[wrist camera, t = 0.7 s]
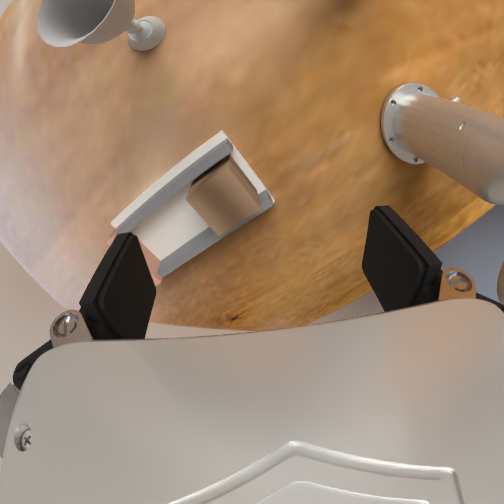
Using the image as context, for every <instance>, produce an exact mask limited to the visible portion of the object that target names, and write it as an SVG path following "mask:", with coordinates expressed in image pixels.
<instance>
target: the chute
mask: <svg viewBox="0 0 504 504" xmlns="http://www.w3.org/2000/svg"><path fill="white" fill-rule="evenodd" d="M229 154H230V155H231V157H232V158H233V159H234V160H235V162H236V163H237V164H238V166H239V167H240V168H241V170H242V171H243V172H244V173H245V175H246V176H247V177H248V179H249V180H250V181H251V183H252V184H253V185H254V187H255V188H256V189H257V193H258V197H259V202H260V206H261V210H259V211H258V212H256V213H255V214H253V215H251V216H250V217H248V218H247V219H245V220H244V221H242V222H241V223H239V224H238V225H236V226H234V227H233V228H231V229H230V230H228V231H227V232H225V233H224V234H222V235H221V236H218V235H217V234H216V233H215V232H214V231H213V230H212V229H211V227H210V226H209V225H208V224H207V223H206V222H205V221H204V220H203V219H202V217H201V216H200V215H199V214H198V213H197V212H196V211H195V210H194V208H193V207H192V206H191V205H190V204H189V203H188V202H187V201H186V198H187V195H188V192H189V189H190V187H191V184H192V181H193V180H195V179H196V178H197V177H199V176H200V175H202V174H203V173H204V172H206V171H207V170H208V169H210V168H211V167H212V166H214V165H215V164H217V163H218V162H219V161H221V160H222V159H224V158H225V157H227V156H228V155H229ZM274 202H275V200H274V198H273V197H272V195H271V194H270V193H269V191H268V190H267V189H266V187H265V186H264V184H263V183H262V182H261V180H260V179H259V178H258V176H257V175H256V174H255V172H254V171H253V170H252V168H251V167H250V165H249V164H248V163H247V161H246V160H245V159H244V158H243V156H242V155H241V154H240V152H239V151H238V150H237V148H236V147H235V146H234V144H233V143H232V142H231V141H230V139H229V138H228V137H227V135H226V134H225V133H224V132H223V130H221V131H220V132H218V133H217V134H216V135H214V136H213V137H211V138H210V139H209V140H207V141H206V142H205V143H203V144H202V145H201V146H199V147H198V148H197V149H195V150H194V151H193V152H191V153H190V154H189V155H188V156H186V157H185V158H184V159H182V160H181V161H180V162H179V163H177V164H176V165H175V166H174V167H172V168H171V169H170V170H169V171H168V172H166V173H165V174H164V175H163V176H162V177H160V178H159V179H158V180H157V181H156V182H154V183H153V184H152V185H151V186H150V187H149V188H147V189H146V190H145V191H144V192H143V193H142V194H141V195H140V196H138V197H137V198H136V199H135V200H134V201H133V202H132V203H131V204H130V205H129V206H127V207H126V208H125V209H124V210H123V211H122V212H121V213H120V214H119V215H118V216H117V217H116V218H115V219H114V220H113V221H112V222H111V225H112V226H113V227H114V228H115V230H114V232H113V233H112V235H111V236H110V238H109V240H108V241H107V244H108V245H109V246H110V245H111V244H112V242H113V240H114V239H115V237H116V236H117V234H121V233H127V232H131V233H132V234H133V235H136V236H137V237H138V240H139V243H140V246H141V248H142V251H143V254H144V257H145V260H146V262H147V265H148V268H149V271H150V273H151V276H152V279H153V281H154V284H155V286H157V285H158V284H160V283H161V282H162V278H163V277H165V276H166V275H168V274H169V273H171V272H172V271H174V270H175V269H177V268H178V267H180V266H181V265H183V264H184V263H186V262H187V261H189V260H190V259H192V258H193V257H195V256H196V255H198V254H199V253H201V252H202V251H204V250H205V249H207V248H208V247H210V246H211V245H213V244H214V243H216V242H217V241H219V240H220V239H222V238H224V237H225V236H227V235H228V234H230V233H231V232H233V231H234V230H236V229H237V228H239V227H241V226H242V225H244V224H245V223H247V222H248V221H250V220H251V219H253V218H255V217H256V216H258V215H259V214H261V213H262V212H264V211H266V210H267V209H269V208H270V207H272V206H274V204H273V203H274Z"/></svg>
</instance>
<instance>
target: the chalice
mask: <svg viewBox="0 0 504 504" xmlns="http://www.w3.org/2000/svg"><path fill="white" fill-rule="evenodd" d="M134 14H135V1H134V0H42V2H41V5H40V8H39V12H38V18H37V27H38V31H39V34H40V36H41V38H42V39H43V40H44V41H45V42H46V43H47V44H50V45H52V46H55V47H64V46H69V45H72V44H74V43H77V42H78V43H85V44H100V43H103V42H106V41H109V40H111V39H113V38H115V37H117V36H118V35H120V34H122V33H123V32H124V31H127V32H128V35H127V39H128V43H129V45H130V46H131V47H132V48H133V49H136V50H138V51H146V50H150V49H152V48H154V47H156V46H157V45H158V44H159V43H160V42H161V41H162V39H163V38H164V35H165V32H166V31H165V25H164V22H163V21H162V20H161V19H160V18H157V17H155V16H147V17H143V18H141V19H138V20H134V19H133V17H134Z"/></svg>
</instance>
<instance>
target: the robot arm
mask: <svg viewBox="0 0 504 504" xmlns="http://www.w3.org/2000/svg"><path fill="white" fill-rule="evenodd" d="M381 130H382V135H383V138H384V140H385V143H386V145H387V146H388V148H389V150H390V151H391V152H392V153H393V154H394V155H395V156H396V157H398V158H399V159H401V160H403V161H404V162H407V163H410V164H422V163H425V162H426V163H428V164H429V165H431V166H433V167H434V168H436V169H438V170H439V171H441V172H443V173H444V174H446V175H447V176H449V177H450V178H452V179H453V180H455V181H457V182H458V183H460V184H461V185H462V186H464V187H465V188H467V189H468V190H470V191H471V192H473V193H474V194H476V195H477V196H478V197H480V198H481V199H483V200H484V201H486V202H489V203H491V204H496V205H501V204H504V118H503V117H501V116H498V115H495V114H492V113H489V112H487V111H484V110H481V109H478V108H474V107H471V106H468V105H464V104H461V103H460V100H459V98H458V97H456V96H455V97H453V98H451V99H450V100H448V99H444V98H440V97H439V96H438V95H437V94H436V93H435V92H434V91H433V90H432V89H431V88H429V87H428V86H425V85H423V84H419V83H405V84H402V85H400V86H398V87H396V88H395V89H394V90H392V91H391V93H390V94H389V95H388V97H387V98H386V100H385V102H384V105H383V108H382V112H381ZM389 139H390V140H389ZM441 265H442V262H441V261H440V260H439V259H438V258H437V256H436V255H435V254H434V253H433V252H432V251H431V250H430V248H429V247H428V246H427V245H426V244H425V243H424V242H423V241H422V239H421V238H420V237H419V236H418V235H417V234H416V233H415V232H414V231H413V230H412V229H411V228H410V227H409V226H408V224H407V223H406V222H405V221H404V220H403V219H402V218H401V217H400V216H399V215H398V214H397V213H396V212H395V211H394V210H393V209H392V208H391V207H390V206H375V207H374V210H371V212H370V217H369V224H368V231H367V238H366V244H365V250H364V256H363V261H362V269H363V272H364V274H365V276H366V278H367V279H368V281H369V283H370V285H371V287H372V288H373V290H374V292H375V294H376V296H377V298H378V299H379V301H380V303H381V305H382V307H383V309H384V311H385V312H383V313H377V314H372V315H367V316H361V317H356V318H350V319H345V320H338V321H332V322H326V323H319V324H312V325H305V326H298V327H291V328H283V329H275V330H266V331H257V332H247V333H237V334H225V335H213V336H200V337H182V338H158V339H145V334H146V331H147V326H148V323H149V319H150V315H151V311H152V307H153V304H154V300H155V296H156V287H155V284H154V281H153V279H152V276H151V273H150V271H149V268H148V265H147V262H146V260H145V257H144V254H143V251H142V248H141V246H140V243H139V240H138V237H137V236H136V235H133V234H132V233H131V232H127V233H121V234H117V236H116V237H115V239H114V240H113V242H112V244H111V245H110V247H109V249H108V250H107V252H106V254H105V256H104V257H103V259H102V261H101V263H100V264H99V266H98V268H97V270H96V271H95V273H94V275H93V277H92V279H91V281H90V283H89V284H88V286H87V288H86V290H85V292H84V294H83V296H82V298H81V300H80V302H79V304H80V306H81V308H80V310H79V311H77V310H68V311H65V312H63V313H62V314H60V315H59V316H57V318H56V319H55V320H54V321H53V323H52V324H51V327H50V337H51V340H49V341H48V342H47V343H45V344H44V345H42V346H41V347H40V348H38V349H37V350H36V351H34V352H33V353H31V354H30V355H29V356H27V357H26V358H25V359H23V360H22V361H21V362H20V363H18V365H17V366H16V368H15V371H14V374H13V383H14V384H13V385H12V384H11V383H9V384H8V386H7V387H6V388H5V389H4V391H3V392H2V393H1V395H0V456H1V457H2V459H3V460H2V466H1V476H0V504H504V262H503V265H502V268H501V270H500V273H499V277H498V282H497V294H498V299H499V302H500V303H499V302H496V301H494V300H492V299H490V298H487V297H485V296H483V295H481V294H478V293H476V286H475V282H474V281H473V279H472V278H471V277H470V275H468V274H467V273H466V272H464V271H462V270H459V269H456V268H449V269H446V270H445V271H444V272H443V271H442V270H441V269H440V268H441Z"/></svg>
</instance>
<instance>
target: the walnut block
mask: <svg viewBox="0 0 504 504" xmlns="http://www.w3.org/2000/svg"><path fill="white" fill-rule="evenodd" d="M186 201H187V202H188V203H189V204H190V205H191V206H192V207H193V208H194V210H195V211H196V212H197V213H198V214H199V215H200V216H201V217H202V219H203V220H204V221H205V222H206V223H207V224H208V225H209V226H210V227H211V229H212V230H213V231H214V232H215V233H216V234H217V235H218V236H221V235H222V234H224V233H225V232H227V231H228V230H230V229H231V228H233V227H234V226H236V225H238V224H239V223H241V222H242V221H244V220H245V219H247V218H248V217H250V216H251V215H253V214H255V213H256V212H258V211H259V210H261V206H260V202H259V197H258V193H257V189H256V188H255V187H254V185H253V184H252V183H251V181H250V180H249V179H248V177H247V176H246V175H245V173H244V172H243V171H242V170H241V168H240V167H239V166H238V164H237V163H236V162H235V160H234V159H233V158H232V157H231V155H230V154H229V155H228V156H227V157H225V158H224V159H222V160H221V161H219V162H218V163H217V164H215V165H214V166H212V167H211V168H210V169H208V170H207V171H206V172H204V173H203V174H202V175H200V176H199V177H197V178H196V179H195V180H193V181H192V184H191V187H190V189H189V192H188V195H187V198H186Z"/></svg>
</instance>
